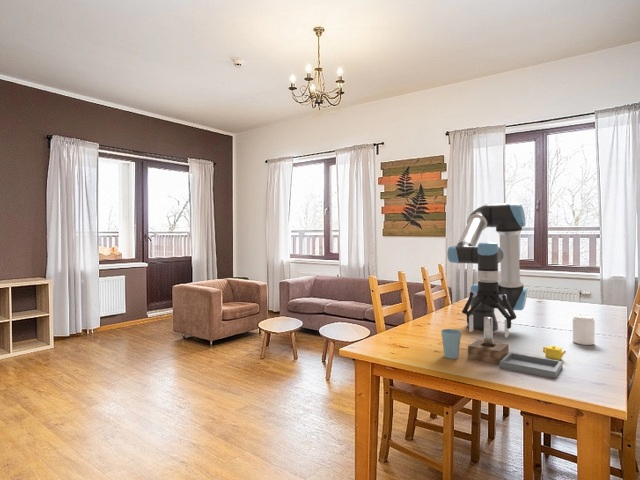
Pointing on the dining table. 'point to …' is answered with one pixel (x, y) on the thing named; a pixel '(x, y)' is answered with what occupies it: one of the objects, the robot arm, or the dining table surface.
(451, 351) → the cup
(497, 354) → the wooden square hole block
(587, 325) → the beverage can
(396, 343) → the dining table surface
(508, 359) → the tray
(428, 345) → the dining table surface
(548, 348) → the teapot
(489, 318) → the pin
